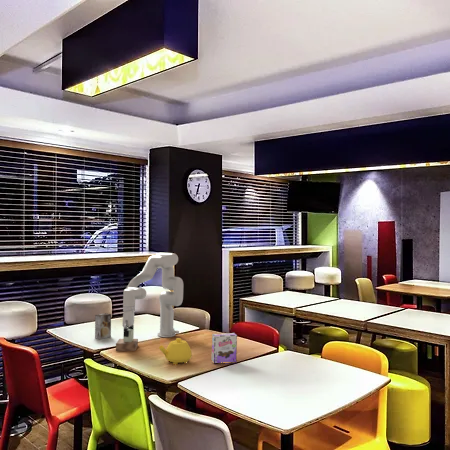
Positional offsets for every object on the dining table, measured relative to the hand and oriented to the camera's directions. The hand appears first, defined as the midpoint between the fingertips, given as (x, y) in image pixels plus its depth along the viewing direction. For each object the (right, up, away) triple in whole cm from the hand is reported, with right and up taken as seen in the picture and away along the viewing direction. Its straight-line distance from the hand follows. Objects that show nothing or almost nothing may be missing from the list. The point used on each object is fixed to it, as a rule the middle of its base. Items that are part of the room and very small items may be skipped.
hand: (128, 335), depth 292 cm
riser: (-1, -9, -1) cm, 9 cm away
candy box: (+61, -10, -26) cm, 67 cm away
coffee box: (-23, -8, +26) cm, 36 cm away
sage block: (0, -4, 0) cm, 4 cm away
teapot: (+33, -9, -29) cm, 45 cm away
